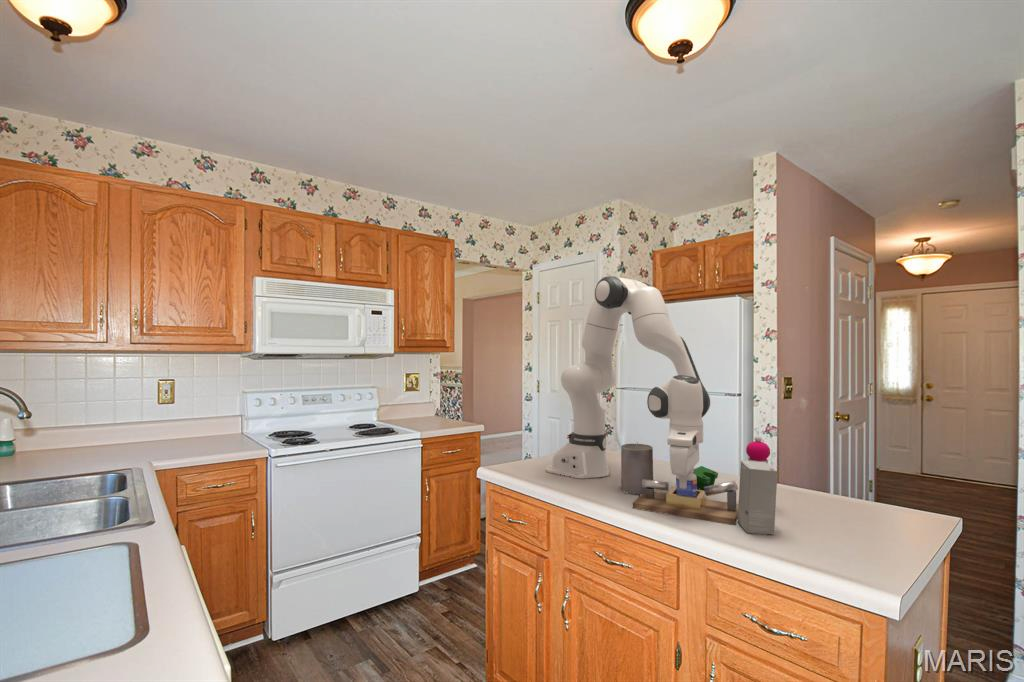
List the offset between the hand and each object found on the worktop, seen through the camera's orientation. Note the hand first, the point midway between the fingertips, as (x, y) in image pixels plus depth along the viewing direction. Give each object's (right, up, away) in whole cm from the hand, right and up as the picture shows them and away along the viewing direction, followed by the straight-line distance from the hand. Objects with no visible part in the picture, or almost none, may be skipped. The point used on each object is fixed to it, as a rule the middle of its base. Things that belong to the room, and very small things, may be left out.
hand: (686, 485), depth 137 cm
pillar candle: (-9, -7, +18) cm, 21 cm away
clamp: (+12, -7, +21) cm, 25 cm away
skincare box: (+12, -7, -15) cm, 21 cm away
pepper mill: (+20, -7, +1) cm, 21 cm away
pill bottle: (0, -5, 0) cm, 5 cm away
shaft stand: (0, -7, 0) cm, 7 cm away
